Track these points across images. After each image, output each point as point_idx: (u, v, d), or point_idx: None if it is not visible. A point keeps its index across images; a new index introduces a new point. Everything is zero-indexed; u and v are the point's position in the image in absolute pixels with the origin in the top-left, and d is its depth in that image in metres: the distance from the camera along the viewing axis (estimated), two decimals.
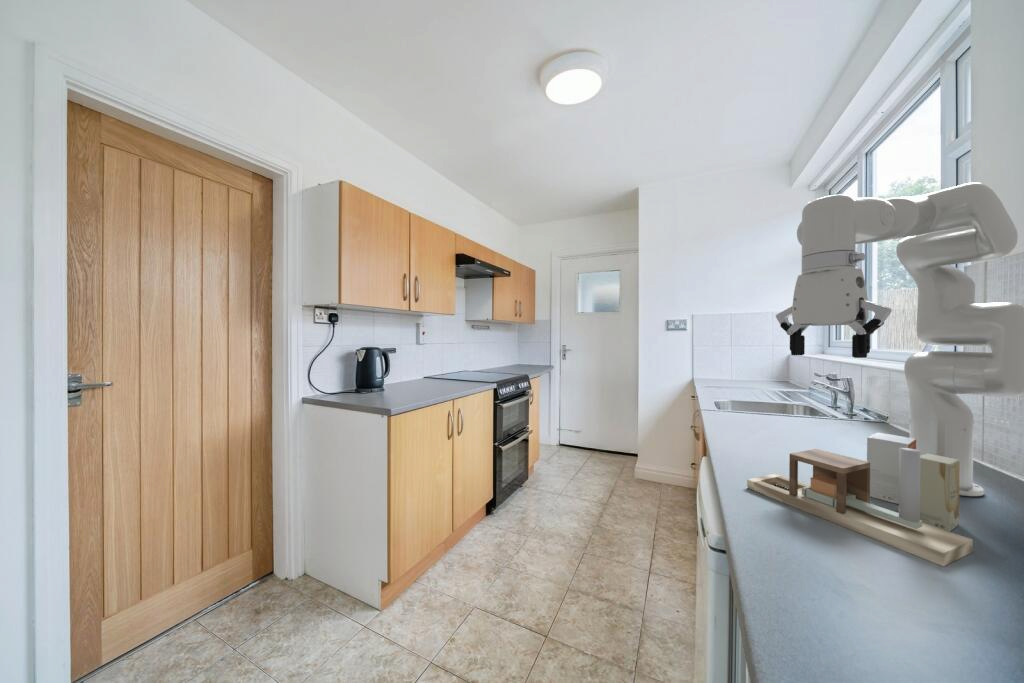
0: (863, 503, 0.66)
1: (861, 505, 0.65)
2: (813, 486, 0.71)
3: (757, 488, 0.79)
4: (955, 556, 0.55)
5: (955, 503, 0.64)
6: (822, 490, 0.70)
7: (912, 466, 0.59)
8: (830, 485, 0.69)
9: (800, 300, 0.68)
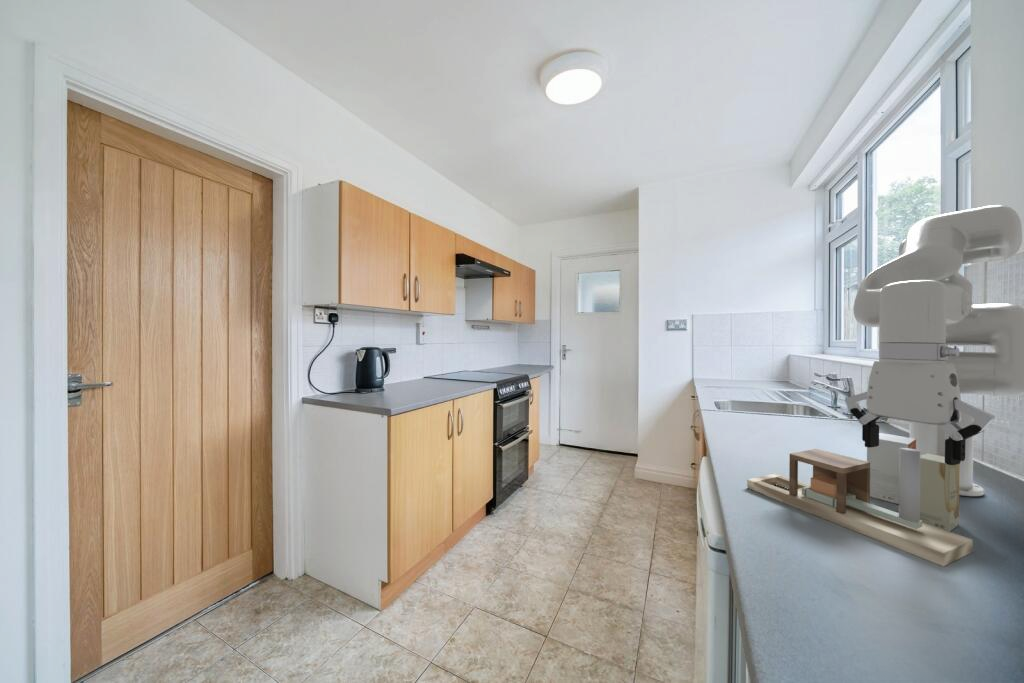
0: (863, 503, 0.66)
1: (861, 505, 0.65)
2: (813, 486, 0.71)
3: (757, 488, 0.79)
4: (955, 556, 0.55)
5: (955, 503, 0.64)
6: (822, 490, 0.70)
7: (912, 466, 0.59)
8: (830, 485, 0.69)
9: (877, 389, 0.62)
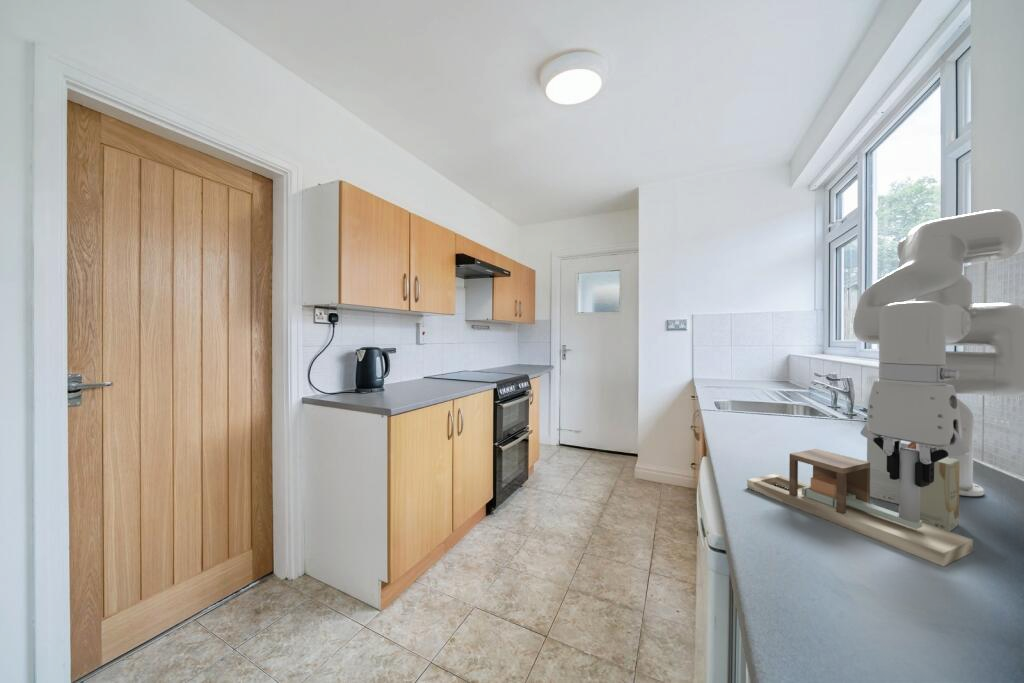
0: (863, 503, 0.66)
1: (862, 505, 0.65)
2: (813, 486, 0.71)
3: (757, 488, 0.79)
4: (955, 556, 0.55)
5: (955, 503, 0.64)
6: (822, 490, 0.70)
7: (912, 466, 0.59)
8: (830, 485, 0.69)
9: (878, 408, 0.62)
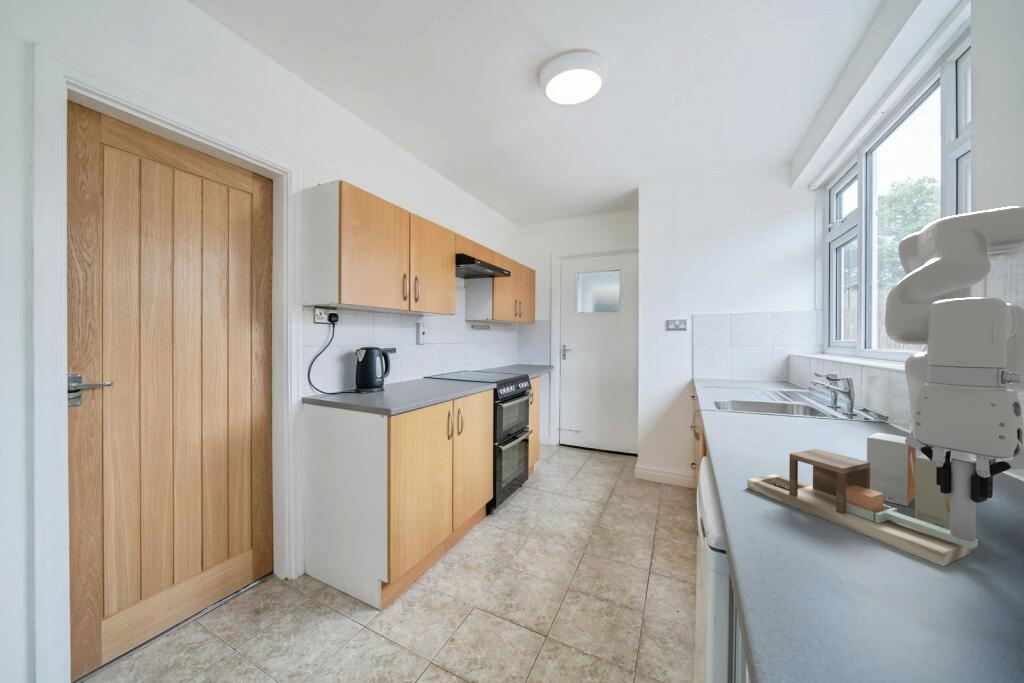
0: (908, 518, 0.60)
1: (906, 520, 0.60)
2: (847, 497, 0.66)
3: (757, 488, 0.79)
4: (955, 556, 0.55)
5: None
6: (857, 501, 0.65)
7: (967, 479, 0.54)
8: (867, 496, 0.64)
9: (926, 415, 0.57)
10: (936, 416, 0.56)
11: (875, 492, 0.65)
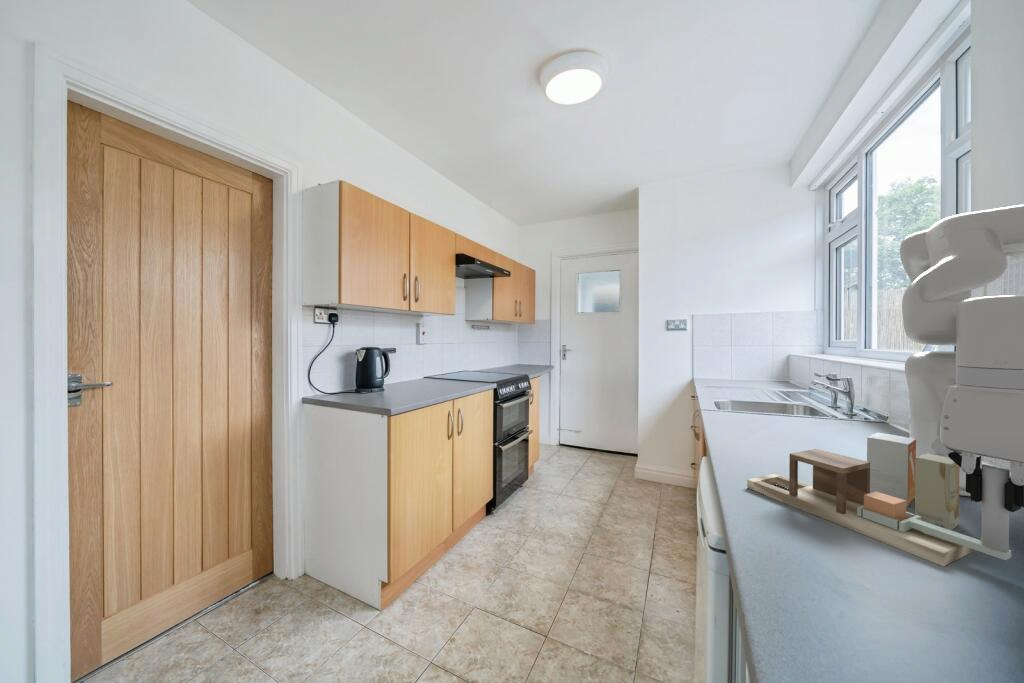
0: (934, 527, 0.57)
1: (933, 529, 0.57)
2: (867, 504, 0.64)
3: (757, 488, 0.79)
4: (955, 556, 0.55)
5: (955, 503, 0.64)
6: (878, 509, 0.62)
7: (1000, 487, 0.51)
8: (889, 503, 0.61)
9: (955, 419, 0.54)
10: (966, 420, 0.53)
11: (897, 499, 0.62)
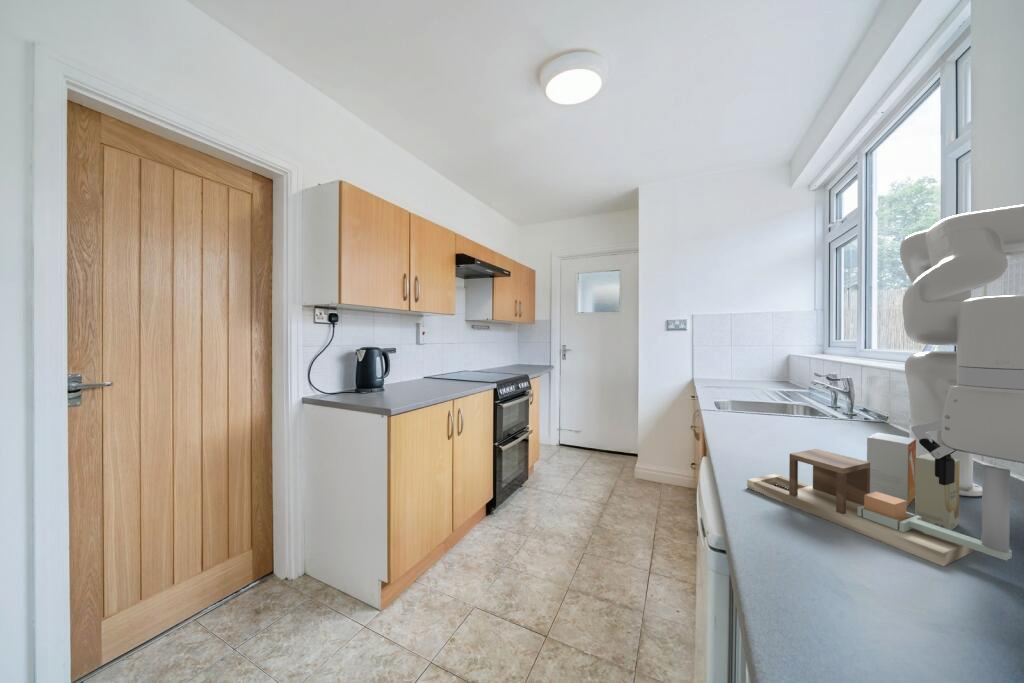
0: (934, 527, 0.57)
1: (933, 529, 0.57)
2: (867, 504, 0.64)
3: (757, 488, 0.79)
4: (955, 556, 0.55)
5: (955, 503, 0.64)
6: (879, 509, 0.62)
7: (1000, 487, 0.51)
8: (889, 504, 0.61)
9: (956, 419, 0.54)
10: (967, 420, 0.53)
11: (897, 499, 0.62)
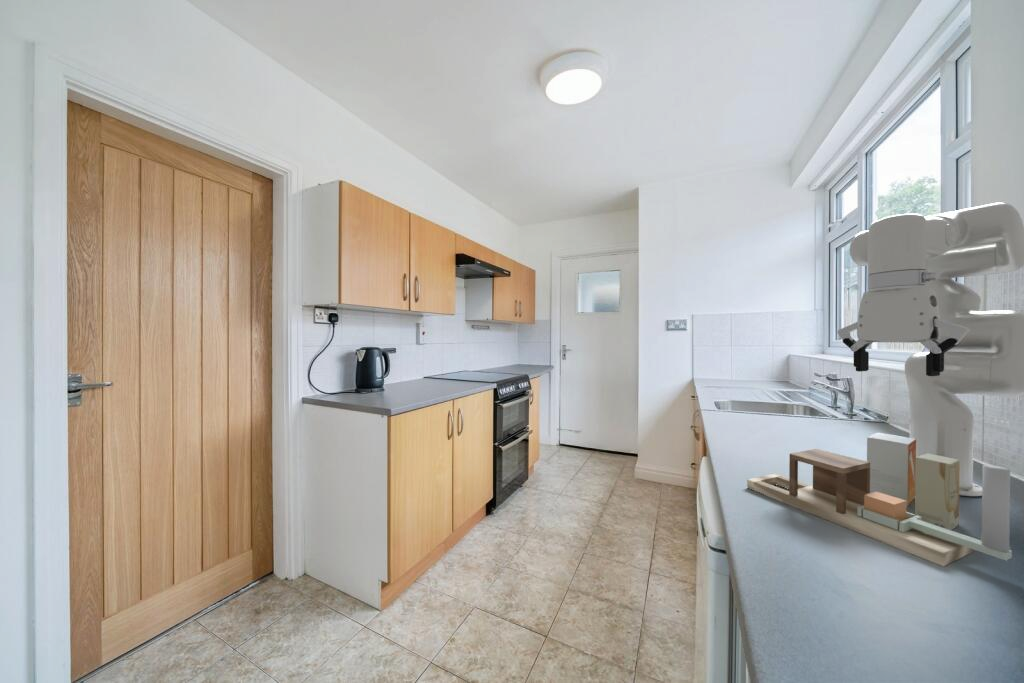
0: (934, 527, 0.57)
1: (933, 529, 0.57)
2: (867, 504, 0.64)
3: (757, 488, 0.79)
4: (955, 556, 0.55)
5: (955, 503, 0.64)
6: (879, 509, 0.62)
7: (1000, 487, 0.51)
8: (889, 504, 0.61)
9: (867, 317, 0.69)
10: (874, 316, 0.68)
11: (897, 499, 0.62)
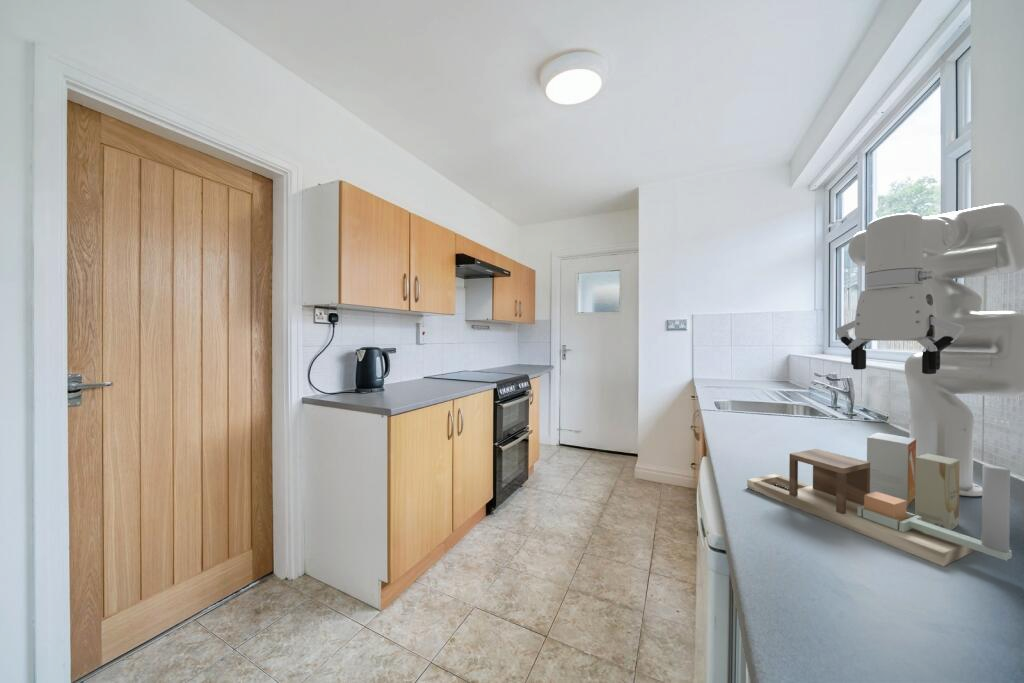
0: (934, 527, 0.57)
1: (933, 529, 0.57)
2: (867, 504, 0.64)
3: (757, 488, 0.79)
4: (955, 556, 0.55)
5: (955, 503, 0.64)
6: (879, 509, 0.62)
7: (1000, 487, 0.51)
8: (889, 504, 0.61)
9: (864, 315, 0.69)
10: (871, 314, 0.68)
11: (897, 499, 0.62)
